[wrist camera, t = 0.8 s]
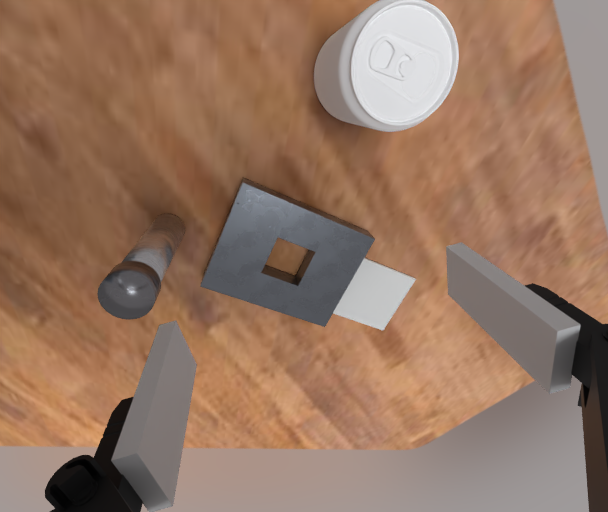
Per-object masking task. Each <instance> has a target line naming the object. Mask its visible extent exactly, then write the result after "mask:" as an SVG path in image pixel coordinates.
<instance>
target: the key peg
mask: <svg viewBox="0 0 608 512" xmlns="http://www.w3.org/2000/svg"><path fill="white" fill-rule="evenodd" d="M184 233H185V225H184V223H183V221H182V220H181V219H180V218H179V217H178V216H176V215H174V214H169V213H166V214H161V215H159V216H158V217H157V218H156V219H155V220H154V221H153V223H152V224H151V225H150V226H149V228H148V229H147V230H146V232H145V233H144V234H143V235H142V237H141V238H140V239H139V241H138V242H137V243H136V244H135V246H134V247H133V248H132V250H131V251H130V252H129V253H128V255H127V256H126V257H125V259H124V260H123V261H122V262H121V263H120V264H118V265H116V266H115V267H114V268H113V269H112V270H111V272H110V273H109V274H108V275H107V277H106V278H105V279H104V280H103V281H102V283H101V284H100V286H99V288H98V299H99V302H100V304H101V306H102V307H103V308H104V309H105V310H106V311H107V312H108V313H110V314H111V315H113V316H115V317H118V318H122V319H137V318H140V317H142V316H144V315H146V314H147V313H148V312H149V311H150V310H151V309H152V307H153V305H154V303H155V301H156V298H157V296H158V294H159V292H160V289H161V281H162V279H163V277H164V275H165V273H166V271H167V269H168V267H169V265H170V263H171V261H172V259H173V256H174V254H175V252H176V250H177V248H178V246H179V244H180V242H181V240H182V238H183V236H184Z"/></svg>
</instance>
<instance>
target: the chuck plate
mask: <svg viewBox="0 0 608 512" xmlns="http://www.w3.org/2000/svg"><path fill="white" fill-rule="evenodd" d="M278 237H279V238H281V239H284V240H286V241H289V242H291V243H294V244H296V245H299V246H302V247H304V248H307V249H309V251H308V253H307V255H306V257H305V259H304V261H303V263H302V265H301V267H300V268H299V270H298V272H297V274H296V276H294V275H291V274H288V273H286V272H283V271H280V270H277V269H275V268H272V267H269V266H266V265H265V263H266V261H267V259H268V257H269V255H270V253H271V251H272V248H273V246H274V244H275V242H276V240H277V238H278ZM374 240H375V238H374V237H373V236H372V235H371V234H370V233H369V232H368V231H366V230H364V229H362V228H359V227H357V226H355V225H352V224H350V223H348V222H345V221H343V220H341V219H339V218H336V217H334V216H332V215H329V214H327V213H325V212H322V211H320V210H318V209H315V208H313V207H311V206H308V205H306V204H304V203H302V202H299V201H297V200H295V199H292V198H290V197H288V196H285V195H283V194H281V193H278V192H276V191H274V190H272V189H269V188H267V187H265V186H262V185H260V184H258V183H255V182H253V181H251V180H248V179H246V178H244V177H243V179H242V182H241V184H240V187H239V189H238V191H237V194H236V196H235V199H234V201H233V204H232V206H231V209H230V211H229V214H228V216H227V218H226V221H225V223H224V226H223V228H222V231H221V233H220V236H219V238H218V240H217V243H216V245H215V248H214V250H213V253H212V255H211V258H210V260H209V263H208V265H207V267H206V270H205V272H204V275H203V278H202V282H201V287H204V288H207V289H210V290H213V291H216V292H219V293H222V294H225V295H228V296H231V297H235V298H238V299H241V300H244V301H247V302H250V303H253V304H256V305H259V306H262V307H265V308H268V309H271V310H275V311H278V312H281V313H284V314H287V315H290V316H293V317H296V318H299V319H302V320H305V321H308V322H311V323H314V324H318V325H321V326H324V327H325V326H326V324H327V322H328V321H329V319H330V317H331V315H332V314H333V312H334V310H335V308H336V307H337V305H338V303H339V301H340V300H341V298H342V296H343V294H344V293H345V291H346V289H347V287H348V286H349V284H350V282H351V280H352V279H353V277H354V275H355V273H356V272H357V270H358V268H359V266H360V265H361V263H362V261H363V259H364V257H365V256H366V254H367V252H368V250H369V249H370V247H371V245H372V243H373V242H374Z"/></svg>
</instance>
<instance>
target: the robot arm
mask: <svg viewBox="0 0 608 512" xmlns="http://www.w3.org/2000/svg"><path fill="white" fill-rule="evenodd" d="M446 253H447V278H448V295H449V296H450V297H451V298H452V299H453V300H455V301H456V302H457V303H458V304H459V305H460V306H461V307H462V308H463V309H464V310H465V311H466V312H467V313H468V314H469V315H470V316H471V317H472V318H473V319H474V320H475V321H476V322H477V323H478V324H479V325H480V326H481V327H482V328H483V329H484V330H485V331H486V332H487V333H488V334H489V335H490V336H491V337H492V338H493V339H494V340H495V341H496V342H497V343H498V344H499V345H500V346H501V347H502V348H503V349H504V350H505V351H506V352H507V353H508V354H509V355H510V356H511V357H512V358H513V359H514V360H515V361H516V362H517V363H518V364H519V365H520V366H521V367H522V368H523V369H524V370H525V371H526V372H528V373H529V374H530V375H531V376H532V377H533V378H534V379H535V380H536V381H537V382H538V383H539V384H540V385H541V386H542V387H543V388H544V389H545V390H546V391H547V392H548V393H549V394H550V393H553V392H557V391H560V390H564V389H567V388H570V384H571V378H572V375H573V376H575V377H576V378H577V379H578V380H579V381H580V382H582V385H581V390H580V396H579V401H578V406H581V407H582V417H583V431H584V445H585V459H586V473H587V487H588V501H589V512H608V324H601V323H600V322H598V321H597V320H595V319H594V318H592V317H591V316H589V315H588V314H586V313H584V312H583V311H581V310H580V309H578V308H577V307H575V306H574V305H572V304H571V303H568V302H567V301H566V300H564V299H563V298H561V297H560V298H559V296H558V295H557V294H555V293H554V292H552V291H550V290H549V289H547V288H544V287H542V286H539V285H536V284H533V283H532V284H529V285H525V286H524V285H522V284H521V283H520V282H518V281H517V280H515V279H514V278H512V277H511V276H509V275H508V274H506V273H505V272H504V271H502V270H501V269H499V268H498V267H496V266H495V265H493V264H492V263H491V262H489V261H488V260H486V259H485V258H483V257H482V256H480V255H479V254H477V253H476V252H475V251H473V250H472V249H470V248H469V247H467V246H466V245H464V244H463V243H462V242H461V243H458V244H454V245H450V246H447V247H446ZM196 366H197V364H196V362H195V360H194V358H193V356H192V353H191V351H190V349H189V347H188V345H187V343H186V341H185V339H184V337H183V334H182V332H181V330H180V328H179V326H178V324H177V322H176V321H172V322H169V323H165V324H161V325H159V328H158V331H157V333H156V336H155V339H154V342H153V345H152V347H151V350H150V353H149V356H148V359H147V361H146V364H145V367H144V370H143V373H142V375H141V378H140V381H139V384H138V387H137V389H136V392H135V395H134V397H131V398H128V399H124V400H122V401H121V402H120V403H119V405H118V406H117V407H116V408H115V410H114V411H113V412H112V414H111V417H110V419H109V422H108V424H107V428H106V429H105V431H104V434H103V438H102V439H101V441H100V444H99V446H98V449H97V451H96V453H95V456H94V458H93V457H91V456H90V455H81V456H78V457H76V458H73V459H72V460H70V461H68V462H67V463H65V464H64V465H63V466H62V467H61V468H60V469H58V470H57V471H56V472H55V473H54V475H53V476H52V478H51V479H50V481H49V482H48V484H47V487H46V489H45V498H46V499H47V500H48V501H49V502H50V503H51V504H52V505H53V506H54V507H55V509H54V510H52V511H50V512H140V511H141V507H142V503H143V504H144V506H145V507H146V508H147V510H148V511H149V512H154V511H157V510H161V509H164V508H168V507H171V506H173V502H174V497H175V491H176V485H177V479H178V473H179V467H180V461H181V455H182V449H183V443H184V438H185V432H186V426H187V420H188V414H189V408H190V402H191V396H192V390H193V384H194V378H195V372H196Z"/></svg>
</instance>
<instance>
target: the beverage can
mask: <svg viewBox="0 0 608 512" xmlns="http://www.w3.org/2000/svg"><path fill="white" fill-rule="evenodd" d="M458 57H459V53H458V43H457V39H456V35H455V32H454V29H453V27H452V25H451V23H450V22H449V20H448V19H447V17H446V16H445V15H444V14H443V13H442V12H441V11H440V10H439V9H438V8H437V7H435V6H434V5H432V4H430V3H428V2H427V1H425V0H380V1H378V2H376V3H374V4H372V5H371V6H369V7H368V8H367V9H365V10H364V11H363V12H361V13H360V14H359V15H357V16H356V17H355V18H354V19H352V20H351V21H350V22H348V23H347V24H346V25H344V26H343V27H342V28H340V29H339V30H338V31H337V32H335V33H334V34H333V35H332V36H331V37H329V39H328V40H327V41H326V42H325V43H324V45H323V46H322V48H321V50H320V52H319V54H318V56H317V59H316V63H315V68H314V85H315V90H316V93H317V96H318V99H319V101H320V102H321V104H322V106H323V107H324V108H325V110H326V111H327V112H328V113H329V114H331V115H332V116H333V117H335V118H337V119H339V120H341V121H344V122H348V123H351V124H355V125H359V126H363V127H367V128H371V129H375V130H379V131H385V132H395V131H401V130H405V129H408V128H411V127H413V126H415V125H417V124H419V123H420V122H422V121H423V120H425V119H426V118H427V117H429V116H430V115H431V114H432V113H433V112H434V111H435V110H436V109H437V108H438V107H439V106H440V105H441V104H442V102H443V101H444V100H445V98H446V97H447V95H448V93H449V92H450V90H451V87H452V85H453V83H454V80H455V77H456V73H457V68H458Z"/></svg>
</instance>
